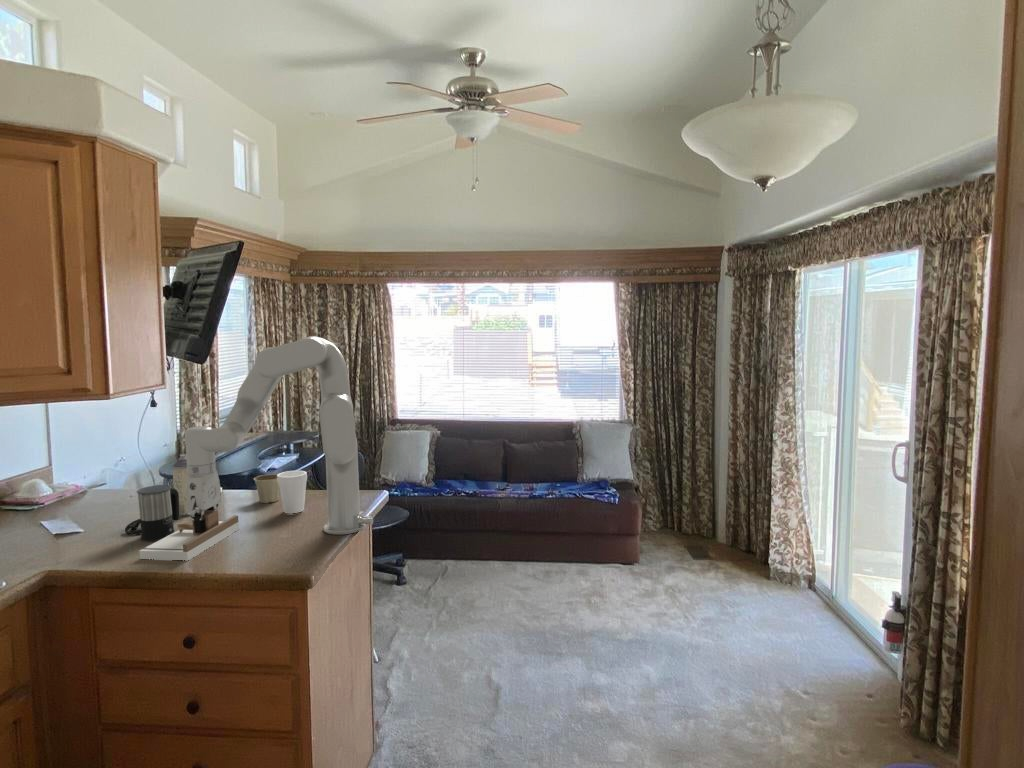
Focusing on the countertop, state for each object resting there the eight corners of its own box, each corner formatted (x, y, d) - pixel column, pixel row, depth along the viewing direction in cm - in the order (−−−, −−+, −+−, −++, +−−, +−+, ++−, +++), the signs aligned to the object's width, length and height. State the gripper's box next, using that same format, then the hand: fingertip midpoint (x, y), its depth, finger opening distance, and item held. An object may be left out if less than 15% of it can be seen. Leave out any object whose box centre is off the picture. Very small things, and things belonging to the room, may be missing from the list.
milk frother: (168, 540, 194) (164, 491, 192) (111, 544, 192) (106, 495, 190) (184, 525, 208) (181, 479, 206) (131, 529, 206) (127, 482, 204)
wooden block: (219, 530, 195) (217, 510, 194) (209, 535, 190) (207, 515, 189) (184, 529, 196) (183, 509, 195) (174, 534, 191) (172, 514, 191)
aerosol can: (196, 515, 219) (192, 456, 216) (174, 517, 216) (169, 458, 214) (199, 509, 225) (195, 452, 223) (177, 511, 223) (173, 453, 221)
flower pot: (259, 497, 238) (257, 474, 237) (285, 496, 239) (284, 473, 238) (251, 505, 229) (250, 481, 228) (279, 504, 230) (278, 479, 229)
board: (238, 529, 203) (238, 515, 202) (188, 560, 177) (186, 544, 177) (196, 528, 204) (195, 514, 204) (140, 559, 179) (138, 543, 178)
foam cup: (312, 512, 219) (310, 474, 218) (283, 517, 214) (281, 478, 213) (303, 505, 227) (301, 469, 226) (276, 510, 222) (273, 473, 220)
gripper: (196, 476, 182) (200, 540, 184) (230, 462, 198) (233, 520, 200) (171, 476, 183) (176, 539, 185) (206, 462, 199) (211, 520, 201)
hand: (206, 529), depth 192 cm, fingers closed on wooden block, 5 cm apart
